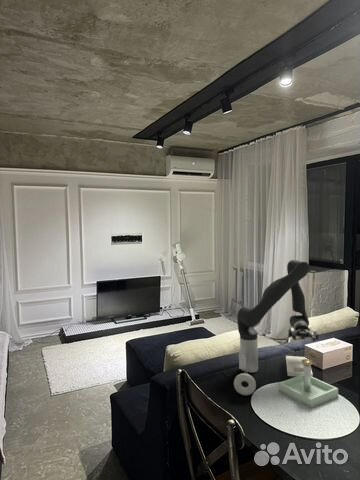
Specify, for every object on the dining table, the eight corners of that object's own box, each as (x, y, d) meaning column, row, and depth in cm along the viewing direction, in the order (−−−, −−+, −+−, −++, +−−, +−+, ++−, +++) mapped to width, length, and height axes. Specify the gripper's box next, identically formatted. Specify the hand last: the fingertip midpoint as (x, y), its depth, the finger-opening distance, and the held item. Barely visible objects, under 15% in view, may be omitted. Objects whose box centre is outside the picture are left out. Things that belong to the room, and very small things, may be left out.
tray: (310, 407, 137) (310, 399, 137) (278, 390, 153) (278, 382, 153) (338, 396, 146) (338, 388, 145) (305, 380, 161) (305, 373, 161)
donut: (233, 395, 149) (233, 374, 148) (234, 392, 152) (233, 371, 152) (256, 397, 146) (255, 375, 146) (256, 394, 150) (255, 372, 150)
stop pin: (308, 394, 146) (307, 364, 145) (300, 390, 150) (299, 360, 149) (315, 391, 148) (314, 361, 148) (306, 387, 152) (306, 358, 152)
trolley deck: (312, 377, 164) (312, 374, 164) (287, 375, 167) (287, 371, 167) (308, 360, 185) (308, 357, 185) (286, 359, 188) (285, 355, 188)
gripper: (287, 321, 177) (288, 330, 161) (315, 323, 173) (320, 332, 157) (287, 335, 177) (288, 345, 161) (315, 337, 173) (320, 347, 157)
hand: (304, 338), depth 159 cm, fingers open, 8 cm apart
